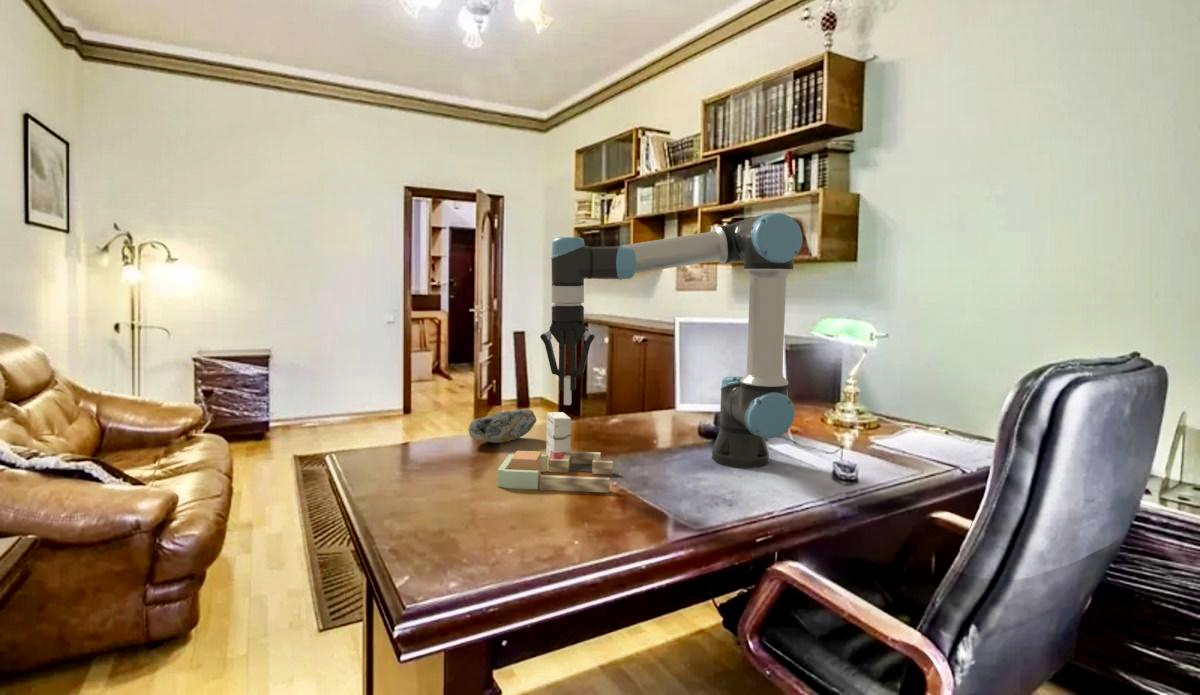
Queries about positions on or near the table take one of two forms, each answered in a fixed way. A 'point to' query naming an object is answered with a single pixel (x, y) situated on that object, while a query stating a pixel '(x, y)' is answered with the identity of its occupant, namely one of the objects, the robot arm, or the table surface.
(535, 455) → the block
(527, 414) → the stone
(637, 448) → the table surface
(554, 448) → the ink box
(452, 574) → the table surface
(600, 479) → the wooden frame piece
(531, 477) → the dock
